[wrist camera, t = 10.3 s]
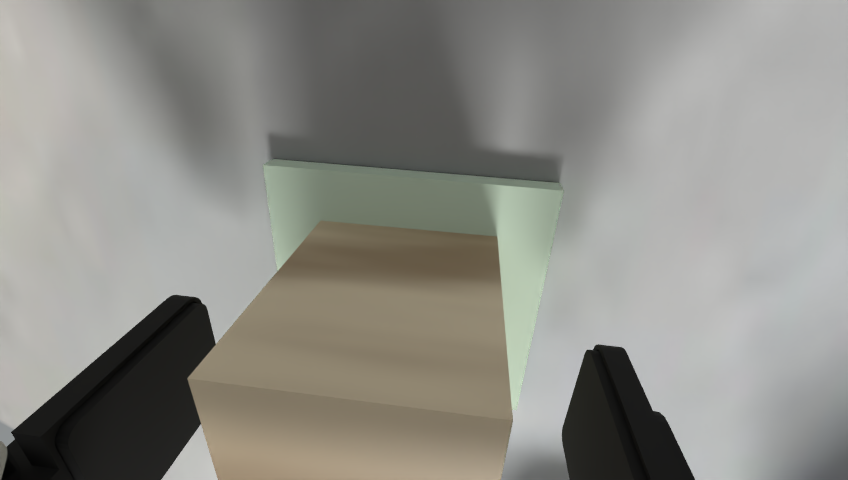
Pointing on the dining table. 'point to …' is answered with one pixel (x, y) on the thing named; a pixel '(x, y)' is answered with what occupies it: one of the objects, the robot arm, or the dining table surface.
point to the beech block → (365, 363)
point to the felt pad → (429, 223)
